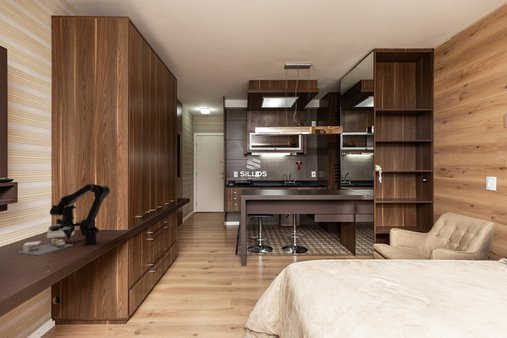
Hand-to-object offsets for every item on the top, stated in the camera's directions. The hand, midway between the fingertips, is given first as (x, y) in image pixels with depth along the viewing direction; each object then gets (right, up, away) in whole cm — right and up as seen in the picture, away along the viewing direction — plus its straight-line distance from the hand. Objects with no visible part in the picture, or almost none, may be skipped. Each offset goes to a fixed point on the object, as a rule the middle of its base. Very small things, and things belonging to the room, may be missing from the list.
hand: (68, 239), depth 177 cm
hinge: (-20, -3, +22) cm, 30 cm away
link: (-2, -2, -7) cm, 7 cm away
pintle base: (-5, -3, -13) cm, 14 cm away
